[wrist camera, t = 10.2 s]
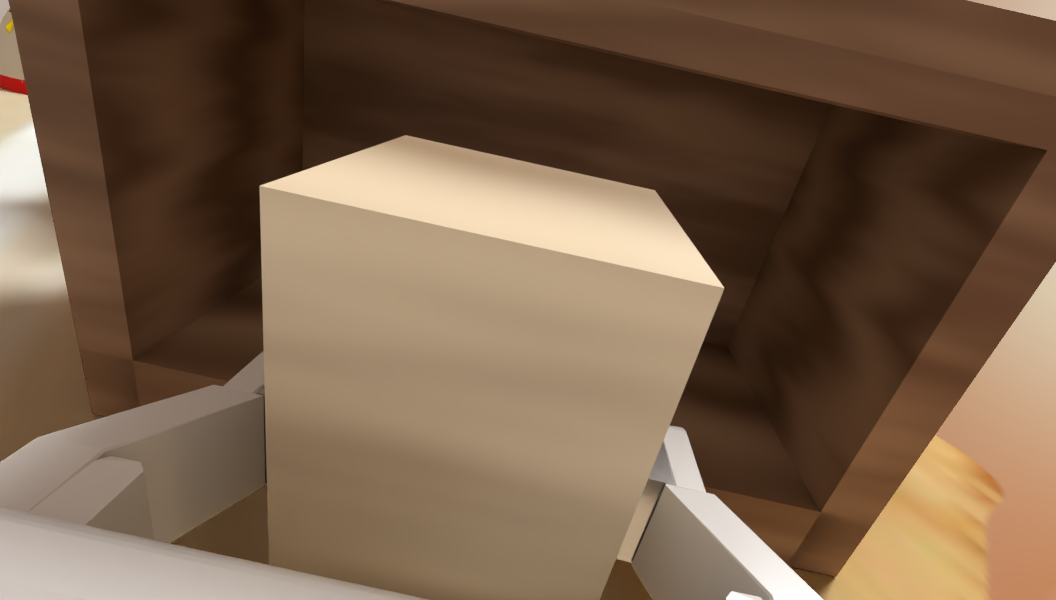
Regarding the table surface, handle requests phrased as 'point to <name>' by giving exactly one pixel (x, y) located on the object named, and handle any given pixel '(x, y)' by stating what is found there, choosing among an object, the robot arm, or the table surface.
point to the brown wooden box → (600, 151)
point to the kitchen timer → (10, 58)
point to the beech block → (468, 368)
